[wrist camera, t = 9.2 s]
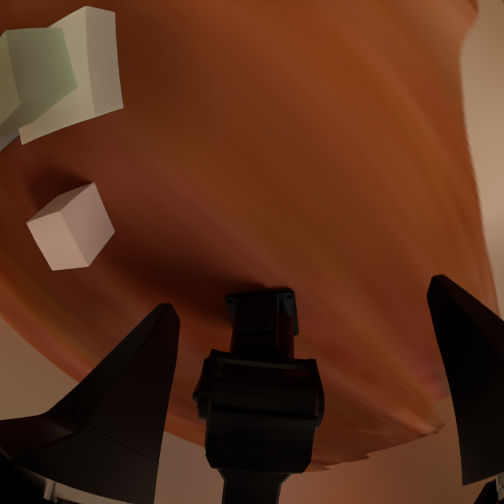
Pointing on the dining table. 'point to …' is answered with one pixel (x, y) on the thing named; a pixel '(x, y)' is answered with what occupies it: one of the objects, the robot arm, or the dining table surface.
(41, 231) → the pink cube
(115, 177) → the dining table surface
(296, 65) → the dining table surface
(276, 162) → the dining table surface
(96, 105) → the cream base
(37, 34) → the sage cube
